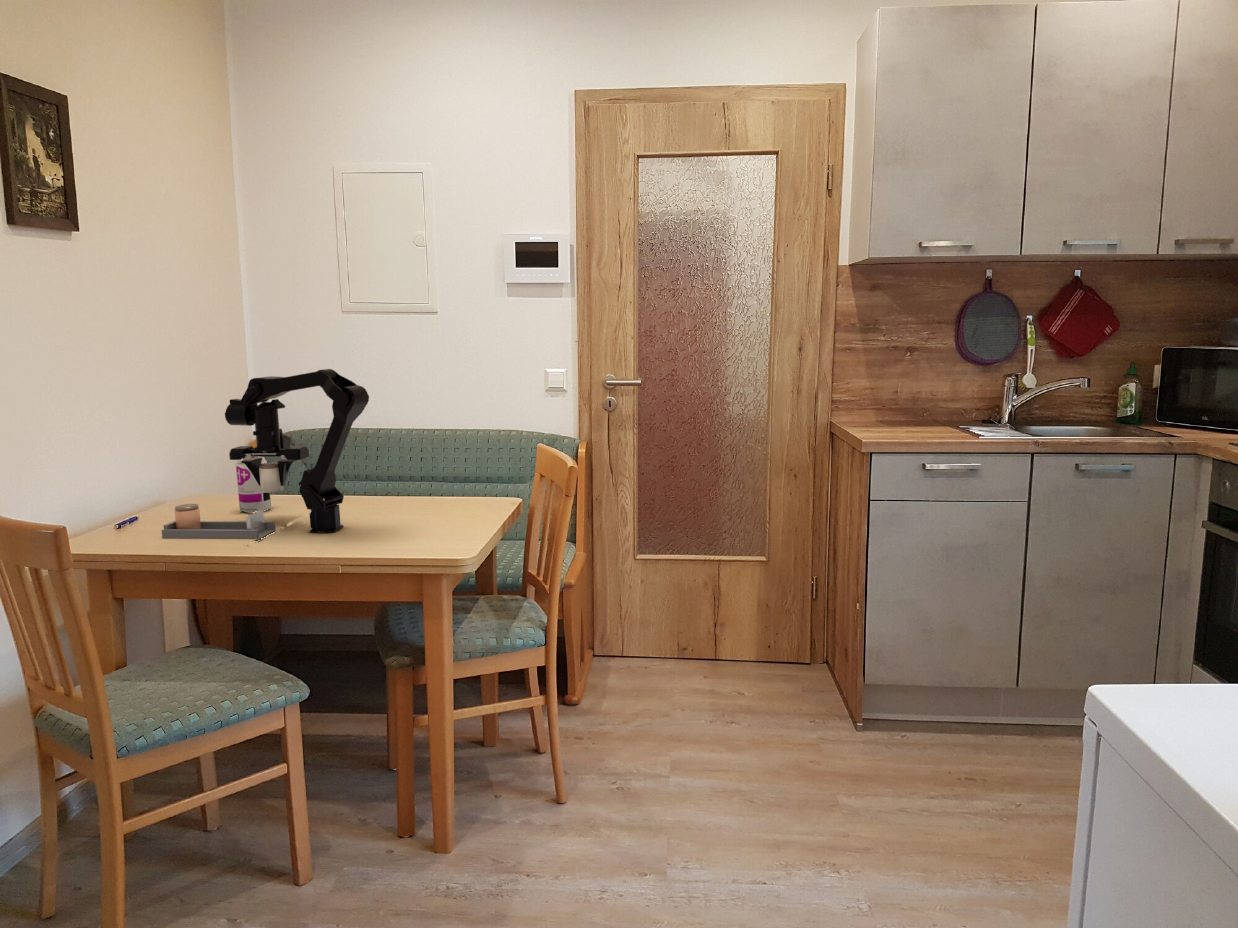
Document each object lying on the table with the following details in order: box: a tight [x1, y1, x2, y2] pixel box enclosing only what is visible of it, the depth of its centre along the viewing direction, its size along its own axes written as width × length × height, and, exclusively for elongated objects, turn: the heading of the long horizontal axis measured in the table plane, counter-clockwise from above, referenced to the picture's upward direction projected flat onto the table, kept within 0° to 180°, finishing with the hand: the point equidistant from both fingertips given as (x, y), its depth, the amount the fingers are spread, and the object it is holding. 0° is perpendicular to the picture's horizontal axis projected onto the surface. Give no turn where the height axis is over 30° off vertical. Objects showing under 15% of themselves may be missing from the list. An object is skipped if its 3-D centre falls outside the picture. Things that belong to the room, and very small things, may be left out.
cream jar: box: [259, 461, 285, 494], centre depth 220 cm, size 6×6×7 cm
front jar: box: [174, 503, 202, 529], centre depth 211 cm, size 6×6×7 cm
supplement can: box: [235, 456, 272, 513], centre depth 240 cm, size 8×8×15 cm
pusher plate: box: [245, 510, 265, 532], centre depth 210 cm, size 1×7×5 cm, turn 176°
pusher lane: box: [161, 520, 276, 541], centre depth 211 cm, size 24×10×4 cm, turn 86°
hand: (272, 485), depth 220 cm, fingers closed on cream jar, 5 cm apart
